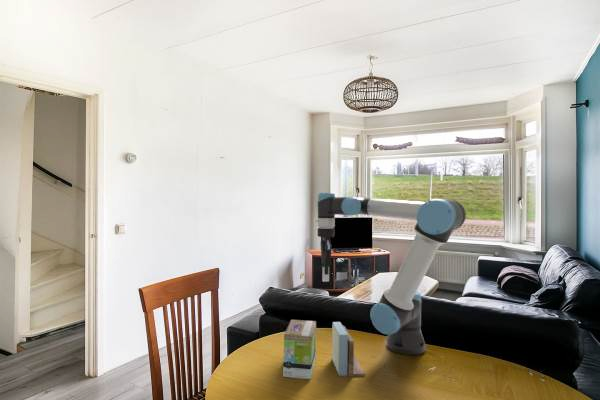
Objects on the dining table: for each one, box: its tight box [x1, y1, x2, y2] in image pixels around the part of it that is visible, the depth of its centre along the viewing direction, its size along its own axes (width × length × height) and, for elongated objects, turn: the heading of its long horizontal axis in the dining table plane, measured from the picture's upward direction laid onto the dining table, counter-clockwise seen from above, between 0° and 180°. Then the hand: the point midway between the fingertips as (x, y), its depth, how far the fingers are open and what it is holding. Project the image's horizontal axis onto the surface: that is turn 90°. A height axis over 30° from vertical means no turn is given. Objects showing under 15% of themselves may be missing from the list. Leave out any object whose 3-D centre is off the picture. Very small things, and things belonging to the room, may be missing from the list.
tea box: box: [282, 319, 317, 380], centre depth 122 cm, size 15×10×15 cm, turn 172°
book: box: [331, 321, 348, 377], centre depth 123 cm, size 3×12×14 cm, turn 6°
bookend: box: [342, 325, 366, 378], centre depth 123 cm, size 6×14×12 cm, turn 6°
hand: (325, 281), depth 150 cm, fingers closed
